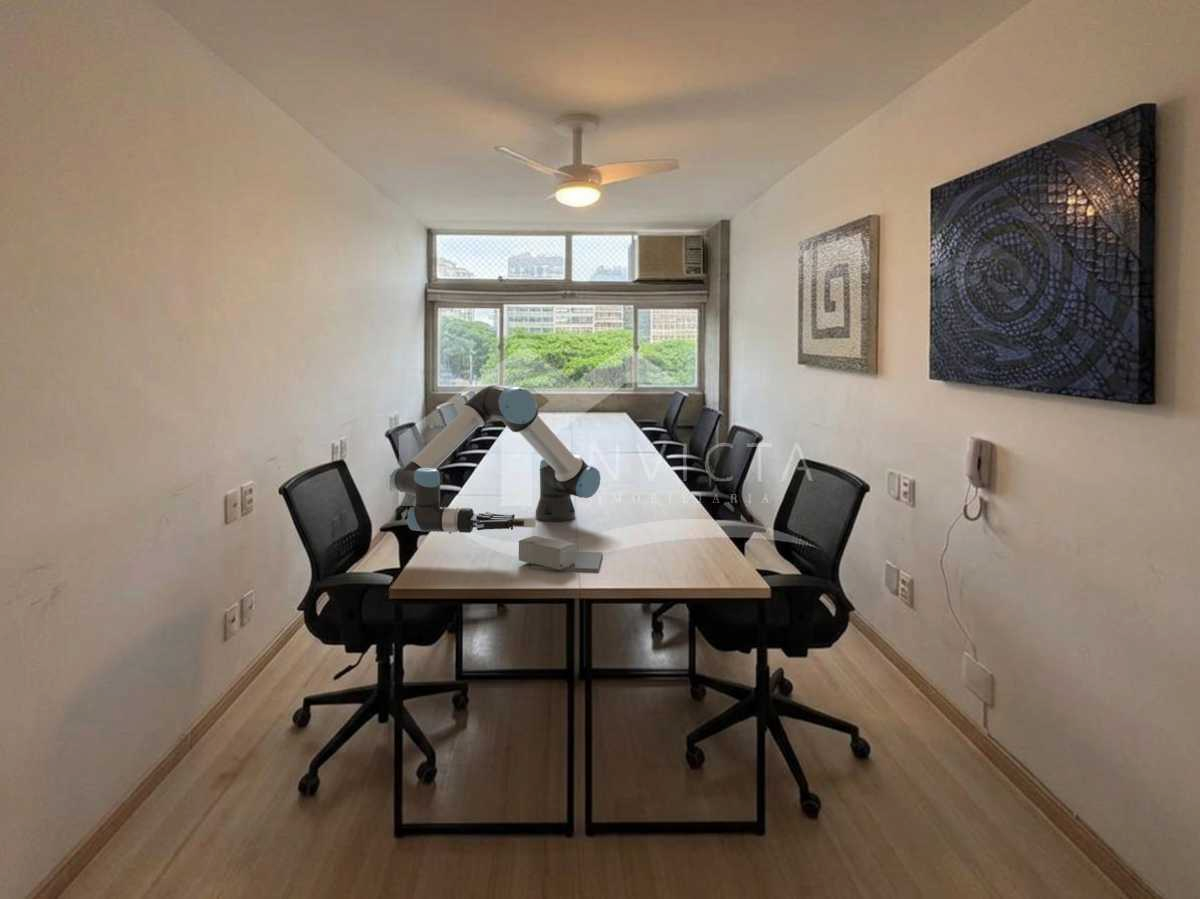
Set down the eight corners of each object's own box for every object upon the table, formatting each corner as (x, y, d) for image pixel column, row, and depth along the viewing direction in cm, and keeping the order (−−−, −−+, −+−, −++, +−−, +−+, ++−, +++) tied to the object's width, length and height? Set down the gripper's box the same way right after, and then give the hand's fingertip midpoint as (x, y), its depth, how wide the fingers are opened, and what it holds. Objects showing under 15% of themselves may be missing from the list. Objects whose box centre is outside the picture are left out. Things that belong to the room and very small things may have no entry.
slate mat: (531, 569, 214) (531, 566, 213) (539, 553, 229) (539, 550, 229) (598, 571, 212) (598, 568, 212) (602, 555, 228) (602, 552, 228)
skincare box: (533, 535, 224) (576, 540, 215) (534, 557, 224) (576, 564, 216) (517, 540, 216) (561, 546, 208) (517, 563, 217) (561, 570, 209)
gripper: (464, 526, 228) (538, 528, 226) (453, 537, 215) (531, 540, 214) (464, 503, 227) (538, 505, 225) (453, 513, 214) (531, 515, 212)
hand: (535, 522), depth 219 cm, fingers closed
